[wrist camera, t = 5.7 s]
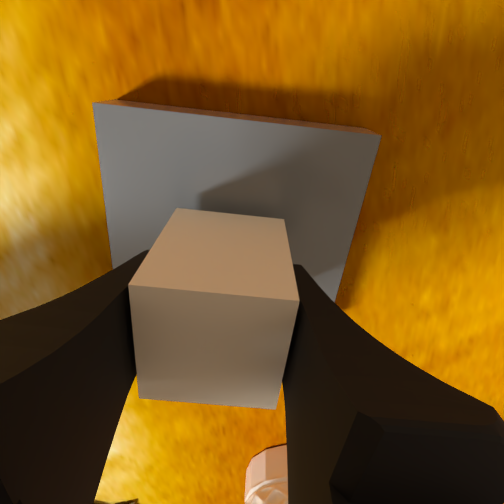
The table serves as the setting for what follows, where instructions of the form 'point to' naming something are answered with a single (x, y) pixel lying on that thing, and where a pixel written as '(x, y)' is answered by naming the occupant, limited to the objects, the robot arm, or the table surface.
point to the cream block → (214, 310)
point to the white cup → (268, 477)
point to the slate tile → (233, 177)
